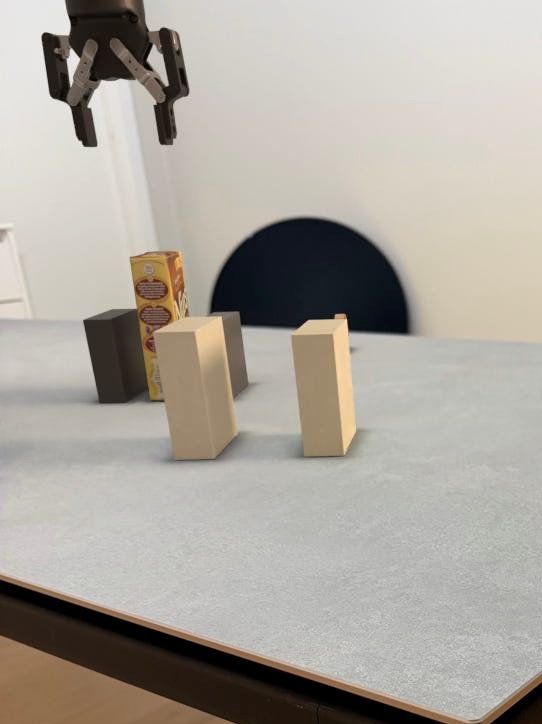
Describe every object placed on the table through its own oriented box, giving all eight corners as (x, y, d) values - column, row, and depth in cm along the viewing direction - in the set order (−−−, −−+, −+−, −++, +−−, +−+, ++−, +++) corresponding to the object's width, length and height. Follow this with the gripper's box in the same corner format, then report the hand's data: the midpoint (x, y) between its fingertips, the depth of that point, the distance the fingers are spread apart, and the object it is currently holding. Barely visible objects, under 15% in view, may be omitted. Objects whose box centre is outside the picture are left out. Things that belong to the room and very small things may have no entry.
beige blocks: (174, 460, 85) (152, 332, 80) (201, 435, 93) (183, 317, 88) (344, 456, 85) (332, 327, 80) (356, 431, 93) (346, 313, 88)
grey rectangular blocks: (99, 403, 107) (82, 319, 103) (126, 386, 116) (111, 309, 112) (231, 399, 107) (219, 316, 103) (249, 383, 115) (238, 305, 111)
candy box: (188, 400, 108) (166, 255, 101) (150, 402, 107) (124, 256, 100) (201, 384, 116) (181, 249, 109) (165, 386, 115) (143, 250, 108)
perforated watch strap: (331, 353, 133) (328, 316, 131) (336, 348, 138) (333, 311, 135) (350, 353, 133) (347, 316, 131) (355, 347, 137) (352, 311, 135)
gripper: (9, -42, 92) (47, 147, 99) (151, -50, 90) (179, 143, 97) (49, -28, 98) (82, 148, 106) (181, -35, 97) (205, 145, 104)
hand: (128, 146), depth 101 cm, fingers open, 8 cm apart
